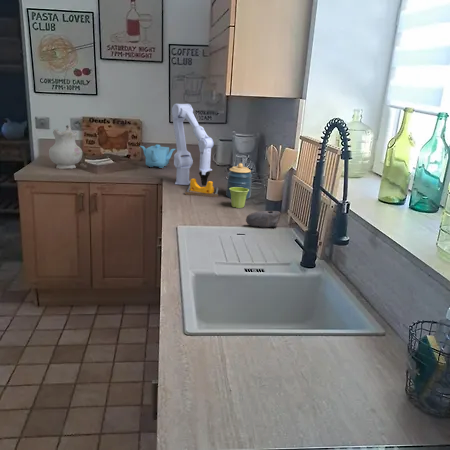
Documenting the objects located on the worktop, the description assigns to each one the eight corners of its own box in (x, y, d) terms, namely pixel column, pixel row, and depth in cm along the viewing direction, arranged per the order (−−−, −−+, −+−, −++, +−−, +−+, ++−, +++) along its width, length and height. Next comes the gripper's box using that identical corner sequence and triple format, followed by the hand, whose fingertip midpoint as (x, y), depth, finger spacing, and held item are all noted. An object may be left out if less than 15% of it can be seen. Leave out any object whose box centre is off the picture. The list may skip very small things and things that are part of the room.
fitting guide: (188, 188, 256) (188, 185, 255) (219, 190, 255) (219, 187, 255) (185, 194, 241) (185, 192, 240) (217, 197, 241) (218, 194, 240)
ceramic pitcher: (51, 165, 296) (46, 125, 287) (83, 163, 301) (79, 123, 293) (50, 172, 276) (44, 130, 268) (84, 169, 282) (79, 128, 273)
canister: (231, 200, 237) (233, 165, 231) (222, 193, 248) (224, 161, 243) (254, 199, 241) (257, 165, 236) (244, 193, 253) (247, 160, 248)
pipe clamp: (213, 192, 250) (214, 181, 248) (210, 194, 246) (210, 182, 244) (193, 189, 254) (194, 177, 252) (190, 190, 251) (190, 179, 249)
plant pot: (225, 204, 228) (226, 187, 226) (243, 203, 232) (244, 186, 229) (232, 209, 220) (233, 191, 217) (250, 208, 223) (252, 191, 221)
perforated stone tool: (246, 228, 195) (247, 212, 193) (244, 224, 200) (245, 208, 198) (281, 229, 196) (283, 213, 194) (279, 225, 201) (280, 210, 199)
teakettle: (162, 163, 319) (162, 142, 314) (177, 168, 305) (177, 146, 300) (137, 165, 308) (137, 143, 303) (151, 170, 294) (151, 147, 289)
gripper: (211, 163, 242) (210, 188, 247) (213, 158, 256) (212, 183, 260) (198, 162, 242) (197, 187, 247) (200, 157, 256) (199, 182, 260)
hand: (203, 185), depth 253 cm, fingers closed
